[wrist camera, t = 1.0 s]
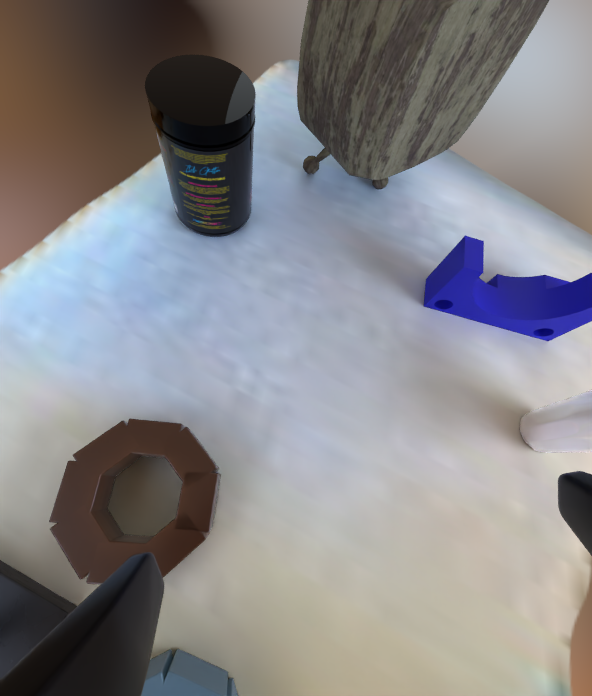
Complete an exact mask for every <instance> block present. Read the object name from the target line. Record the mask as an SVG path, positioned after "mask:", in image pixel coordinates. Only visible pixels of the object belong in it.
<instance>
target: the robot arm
mask: <svg viewBox="0 0 592 696" xmlns="http://www.w3.org/2000/svg"><path fill="white" fill-rule="evenodd" d="M558 506H559V511H560V513H561V515H562V517H563V518H564V520H565V521H566V523H567V524H568V525H569V527H570V528H571V529H572V531H573V532H574V533H575V534H576V536H577V537H578V538H579V540H580V541H581V542H582V544H583V545H584V546H585V548H586V549H587V550H588V552H589V553H590V554H591V556H592V475H591V474H588V473H585V472H582V471H576V472H571V473H565V474H562V475H560V476H559V478H558ZM163 593H164V581H163V577H162V575H161V572H160V569H159V567H158V564H157V562H156V559H155V557H154V555H153V554H152V553H151V552H145V553H139V554H135V555H132V556H131V557H130V558H128V559H127V560H126V561H125V562H124V563H123V564H122V565H121V566H120V567H119V568H118V569H117V570H116V571H115V572H114V573H113V574H111V575H110V576H109V577H108V578H107V579H106V580H105V581H104V582H103V583H102V584H101V585H100V586H99V587H98V588H97V589H96V590H95V591H93V592H92V593H91V594H90V595H89V596H88V597H87V598H86V599H85V600H84V601H83V602H82V603H81V604H80V605H79V606H78V607H76V608H75V609H74V610H73V611H72V612H71V613H70V614H69V615H68V616H67V617H66V618H65V619H64V620H63V621H62V622H61V623H60V624H58V625H57V626H56V627H55V628H54V629H53V630H52V631H51V632H50V633H49V634H48V635H47V636H46V637H45V638H44V639H43V640H42V641H40V642H39V643H38V644H37V645H36V646H35V647H34V648H33V649H32V650H31V651H30V652H29V653H28V654H27V655H26V656H25V657H23V658H22V659H21V660H20V661H19V662H18V663H17V664H16V665H15V666H14V667H13V668H12V669H11V670H10V671H9V672H8V673H7V674H5V675H4V676H3V677H2V678H1V679H0V696H141V694H142V691H143V687H144V683H145V679H146V676H147V671H148V667H149V662H150V657H151V652H152V648H153V643H154V638H155V633H156V628H157V623H158V618H159V613H160V608H161V603H162V598H163Z"/></svg>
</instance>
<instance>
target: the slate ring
mask: <svg viewBox="0 0 592 696" xmlns="http://www.w3.org/2000/svg"><path fill="white" fill-rule="evenodd" d="M141 696H238V694H237V690H236V687H235V683H234V680H233V678H230V679H229V680H228V672H227V671H225V670H223V669H221V668H219V667H216V666H214V665H212V664H210V663H208V662H206V661H204V660H201V659H199V658H197V657H195V656H193V655H191V654H188V653H186V652H184V651H182V650H180V649H177V650H176V652H175V655H174V657H173V655H172V650H171V649H170V650H168V651H166V652H164V653H162V654H160V655H158V656H157V657H155V658H153V659H151V660H150V662H149V667H148V671H147V676H146V679H145V683H144V687H143V691H142V694H141Z"/></svg>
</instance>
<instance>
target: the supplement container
mask: <svg viewBox="0 0 592 696" xmlns="http://www.w3.org/2000/svg"><path fill="white" fill-rule="evenodd" d="M145 89H146V94H147V98H148V102H149V106H150V110H151V116H152V120H153V122H154V124H155V128H156V132H157V136H158V141H159V145H160V148H161V153H162V157H163V161H164V165H165V169H166V173H167V177H168V182H169V186H170V190H171V194H172V198H173V202H174V206H175V210H176V213H177V216H178V217H179V219H180V220H181V221H182V223H183V224H184V225H185V226H186V227H188V228H189V229H190V230H192V231H194V232H196V233H198V234H201V235H204V236H210V237H221V236H226V235H230V234H232V233H234V232H236V231H238V230H239V229H240V228H242V227H243V226H244V224H245V223H246V222H247V220H248V218H249V216H250V213H251V200H252V169H253V139H254V125H255V89H254V86H253V84H252V82H251V80H250V79H249V78H248V76H247V75H246V74H245V73H244V72H243V71H241V70H240V69H239V68H237V67H236V66H234V65H232V64H230V63H228V62H226V61H224V60H221V59H218V58H214V57H210V56H204V55H182V56H176V57H172V58H170V59H167V60H164V61H162V62H160V63H159V64H157V65H156V66H155V67H154V68H153V69H152V70H151V71H150V72H149V74H148V76H147V78H146V82H145Z"/></svg>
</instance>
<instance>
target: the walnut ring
mask: <svg viewBox="0 0 592 696" xmlns="http://www.w3.org/2000/svg"><path fill="white" fill-rule="evenodd" d="M142 456H146V457H157V458H166V459H167V460H168V462H169V463H170V465H171V466H172V467H173V469H174V470H175V472H176V473H177V475H178V476H179V477H180V479H181V480H182V482H183V483H182V488H181V494H180V499H179V504H178V510H177V515H176V518H175V519H174V520H173V521H171V522H170V523H169V524H168V525H167V526H165V527H164V528H163V529H162V530H161V531H160V532H158V533H157V534H156V535H155V536H154V537H153V536H137V535H124V534H123V532H122V531H121V529H120V528H119V526H118V525H117V523H116V522H115V520H114V519H113V517H112V515H111V514H110V512H109V511H108V509H107V508H108V504H109V500H110V496H111V493H112V489H113V485H114V481H115V477H116V476H117V475H118V474H119V473H121V472H122V471H123V470H125V469H126V468H127V467H129V466H130V465H131V464H133V463H134V462H135V461H137V460H138V459H140V458H141V457H142ZM73 457H74V458H75V460H76V461H68V463H67V466H66V470H65V473H64V476H63V479H62V482H61V485H60V489H59V492H58V495H57V498H56V501H55V505H54V508H53V511H52V514H51V517H50V520H49V522H53V523H57V524H55V525H54V526H53V527H51V529H50V530H51V532H52V533H53V535H54V537H55V538H56V540H57V542H58V543H59V545H60V547H61V548H62V550H63V552H64V553H65V555H66V557H67V558H68V560H69V562H70V563H71V565H72V567H73V568H74V570H75V572H76V573H77V575H78V577H79V578H80V579H83V578H85V577H86V576H88V578H87V583H88V584H102V583H103V582H104V581H105V580H106V579H107V578H108V577H109V576H110V575H111V574H113V573H114V572H115V571H116V570H117V569H118V568H119V567H120V566H121V565H122V564H123V563H124V562H125V561H126V560H127V559H128V558H130V557H131V556H132V555H135V554H139V553H145V552H151V553H152V554H153V555H154V557H155V559H156V562H157V564H158V567H159V569H160V572H161V575H162V577H164V576H165V575H167V574H168V573H169V572H170V571H171V570H172V569H173V568H174V567H175V566H177V565H178V564H179V563H180V562H181V561H182V560H183V559H184V558H185V557H187V556H188V555H189V554H190V553H191V552H192V551H193V550H194V549H195V548H197V547H198V546H199V545H200V544H201V543H202V542H203V541H204V540H205V539H206V538H207V536H208V535H209V532H210V530H211V529H212V527H213V523H214V517H215V510H216V503H217V497H218V490H219V483H220V477H221V474H218V473H216V472H217V471H218V470H219V468H218V466H217V465H216V463H215V462H214V461H213V459H212V458H211V457H210V455H209V454H208V453H207V451H206V450H205V449H204V447H203V446H202V445H201V443H200V442H199V441H198V439H197V438H196V437H195V435H194V434H193V433H192V432H191V431H190V429H189V428H188V427H184V426H183V425H182V424H179V423H169V422H159V421H149V420H139V419H129V421H128V423H127V422H125V421H121V422H120V423H118V424H117V425H115V426H114V427H113V428H111V429H110V430H108V431H107V432H105V433H104V434H102V435H101V436H100V437H98V438H97V439H95V440H94V441H92V442H91V443H89V444H88V445H86V446H85V447H84V448H82V449H81V450H79V451H78V452H76V453H75V454H73Z"/></svg>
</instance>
